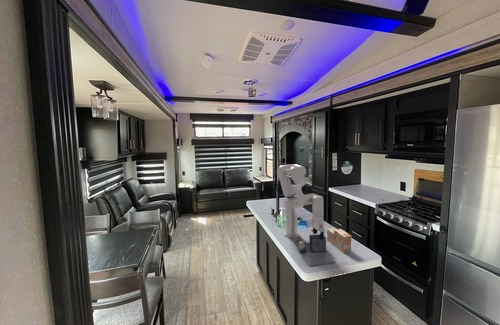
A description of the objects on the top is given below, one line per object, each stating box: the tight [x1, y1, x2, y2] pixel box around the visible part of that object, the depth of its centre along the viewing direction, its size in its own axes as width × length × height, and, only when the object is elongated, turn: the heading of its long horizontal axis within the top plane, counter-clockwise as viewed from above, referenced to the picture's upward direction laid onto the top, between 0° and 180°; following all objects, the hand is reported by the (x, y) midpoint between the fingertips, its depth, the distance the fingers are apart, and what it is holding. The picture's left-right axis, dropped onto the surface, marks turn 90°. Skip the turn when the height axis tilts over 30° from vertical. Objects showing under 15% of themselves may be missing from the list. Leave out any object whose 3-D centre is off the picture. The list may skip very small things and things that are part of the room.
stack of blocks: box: [326, 227, 352, 254], centre depth 164 cm, size 21×6×12 cm, turn 12°
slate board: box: [301, 251, 336, 267], centre depth 146 cm, size 13×18×1 cm
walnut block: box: [293, 236, 304, 247], centre depth 168 cm, size 5×5×5 cm
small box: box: [308, 234, 327, 253], centre depth 159 cm, size 11×6×10 cm, turn 92°
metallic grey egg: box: [298, 240, 307, 254], centre depth 157 cm, size 5×5×7 cm
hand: (318, 236), depth 157 cm, fingers open, 9 cm apart
